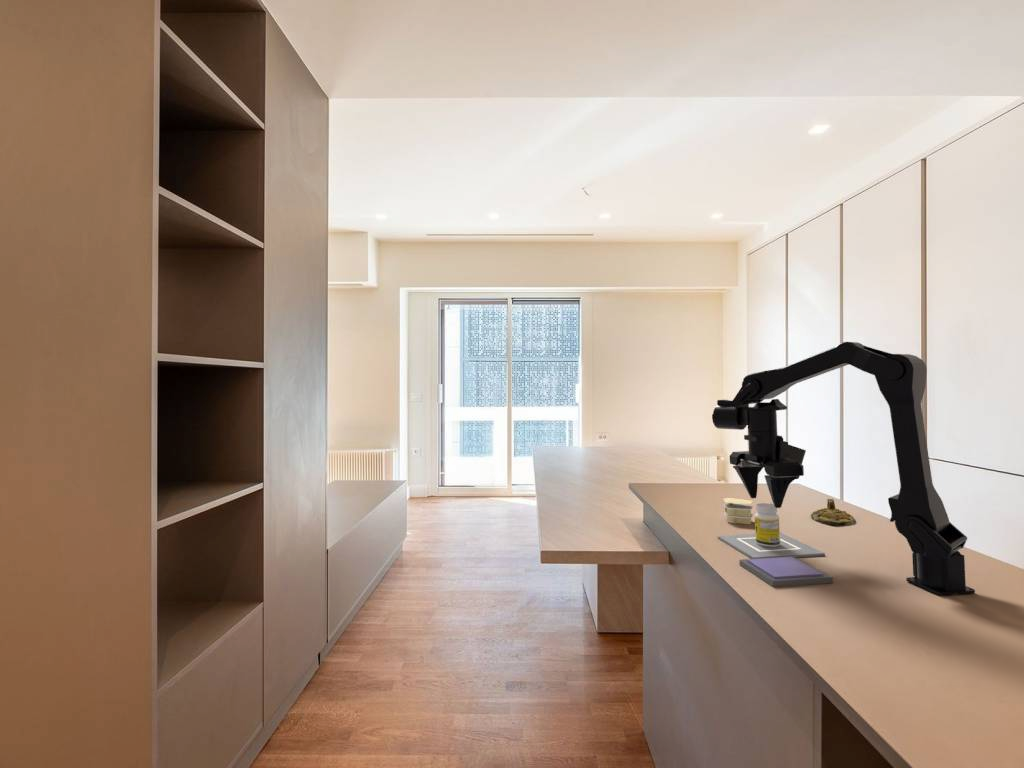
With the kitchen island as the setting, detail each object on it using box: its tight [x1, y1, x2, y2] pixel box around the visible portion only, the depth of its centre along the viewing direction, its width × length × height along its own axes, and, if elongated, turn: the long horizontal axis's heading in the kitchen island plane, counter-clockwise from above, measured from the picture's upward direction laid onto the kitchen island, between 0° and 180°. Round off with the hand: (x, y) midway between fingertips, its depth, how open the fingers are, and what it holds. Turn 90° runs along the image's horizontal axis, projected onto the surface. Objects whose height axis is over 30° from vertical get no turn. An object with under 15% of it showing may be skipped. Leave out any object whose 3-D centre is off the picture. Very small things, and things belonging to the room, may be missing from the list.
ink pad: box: [738, 556, 834, 588], centre depth 92 cm, size 11×11×1 cm
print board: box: [717, 532, 826, 559], centre depth 108 cm, size 15×15×1 cm
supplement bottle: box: [754, 502, 781, 547], centre depth 108 cm, size 5×5×8 cm
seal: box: [810, 498, 855, 527], centre depth 127 cm, size 9×5×15 cm
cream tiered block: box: [723, 497, 754, 525], centre depth 128 cm, size 10×9×6 cm
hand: (765, 502), depth 108 cm, fingers open, 9 cm apart
